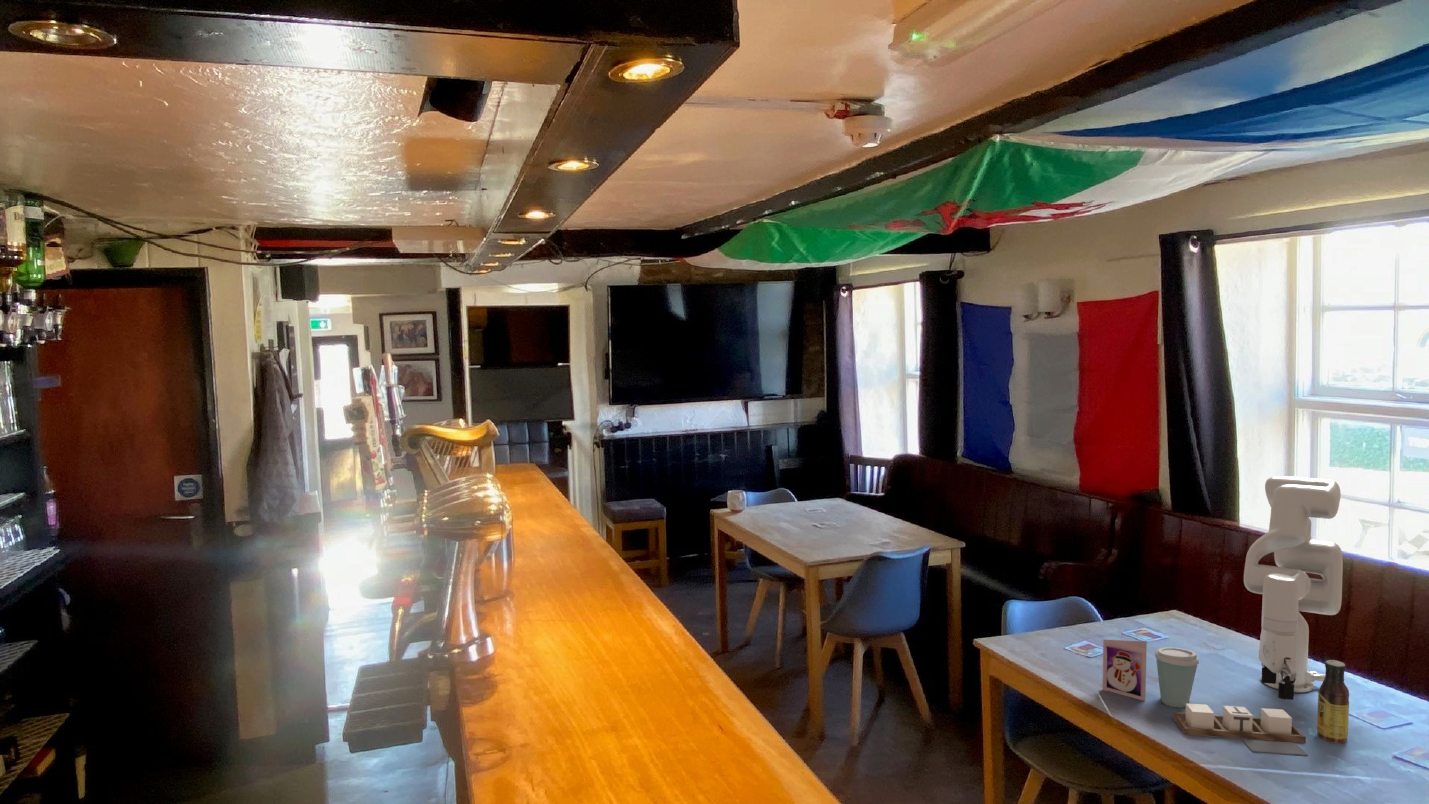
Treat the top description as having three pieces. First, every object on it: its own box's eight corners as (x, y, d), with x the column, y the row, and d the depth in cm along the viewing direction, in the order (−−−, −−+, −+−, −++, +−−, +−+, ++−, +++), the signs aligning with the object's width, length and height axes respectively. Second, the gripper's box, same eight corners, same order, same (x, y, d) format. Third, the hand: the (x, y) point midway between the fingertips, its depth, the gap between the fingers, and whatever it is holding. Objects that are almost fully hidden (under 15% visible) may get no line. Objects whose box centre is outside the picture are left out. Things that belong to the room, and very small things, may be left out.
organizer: (1288, 727, 221) (1288, 719, 221) (1305, 744, 212) (1306, 736, 211) (1172, 719, 226) (1173, 711, 226) (1185, 736, 217) (1185, 728, 217)
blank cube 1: (1206, 723, 223) (1207, 704, 222) (1213, 732, 218) (1214, 713, 217) (1185, 722, 224) (1185, 703, 223) (1192, 730, 219) (1192, 711, 218)
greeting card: (1101, 692, 244) (1102, 640, 243) (1111, 684, 249) (1112, 633, 248) (1144, 703, 236) (1145, 650, 235) (1153, 695, 241) (1154, 643, 240)
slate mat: (1296, 746, 211) (1296, 743, 211) (1307, 758, 205) (1307, 754, 205) (1242, 742, 213) (1242, 739, 213) (1252, 754, 207) (1252, 750, 207)
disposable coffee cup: (1144, 699, 239) (1145, 646, 237) (1173, 693, 242) (1174, 641, 241) (1177, 715, 229) (1178, 660, 228) (1206, 708, 233) (1208, 654, 231)
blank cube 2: (1282, 728, 219) (1282, 709, 219) (1291, 737, 214) (1291, 718, 214) (1260, 727, 220) (1261, 708, 220) (1268, 736, 215) (1269, 716, 215)
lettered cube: (1244, 726, 221) (1244, 706, 220) (1252, 735, 216) (1252, 715, 215) (1222, 724, 222) (1223, 705, 221) (1230, 733, 217) (1230, 714, 216)
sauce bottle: (1317, 731, 218) (1320, 655, 217) (1348, 738, 214) (1351, 660, 213) (1315, 741, 213) (1318, 663, 212) (1346, 748, 209) (1349, 669, 208)
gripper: (1248, 612, 224) (1246, 676, 225) (1278, 635, 207) (1275, 704, 209) (1280, 613, 223) (1278, 678, 224) (1312, 637, 206) (1310, 706, 207)
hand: (1277, 690), depth 216 cm, fingers open, 9 cm apart
